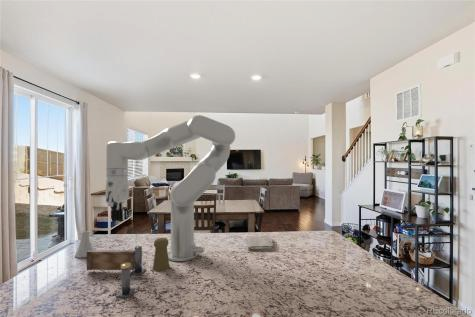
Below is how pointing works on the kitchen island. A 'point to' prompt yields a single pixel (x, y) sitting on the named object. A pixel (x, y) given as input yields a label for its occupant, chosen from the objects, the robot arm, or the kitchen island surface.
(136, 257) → the grey upright posts
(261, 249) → the washcloth
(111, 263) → the brown wooden plank
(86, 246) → the flask
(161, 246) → the olive rounded lobed piece
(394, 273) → the kitchen island surface
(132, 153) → the robot arm
